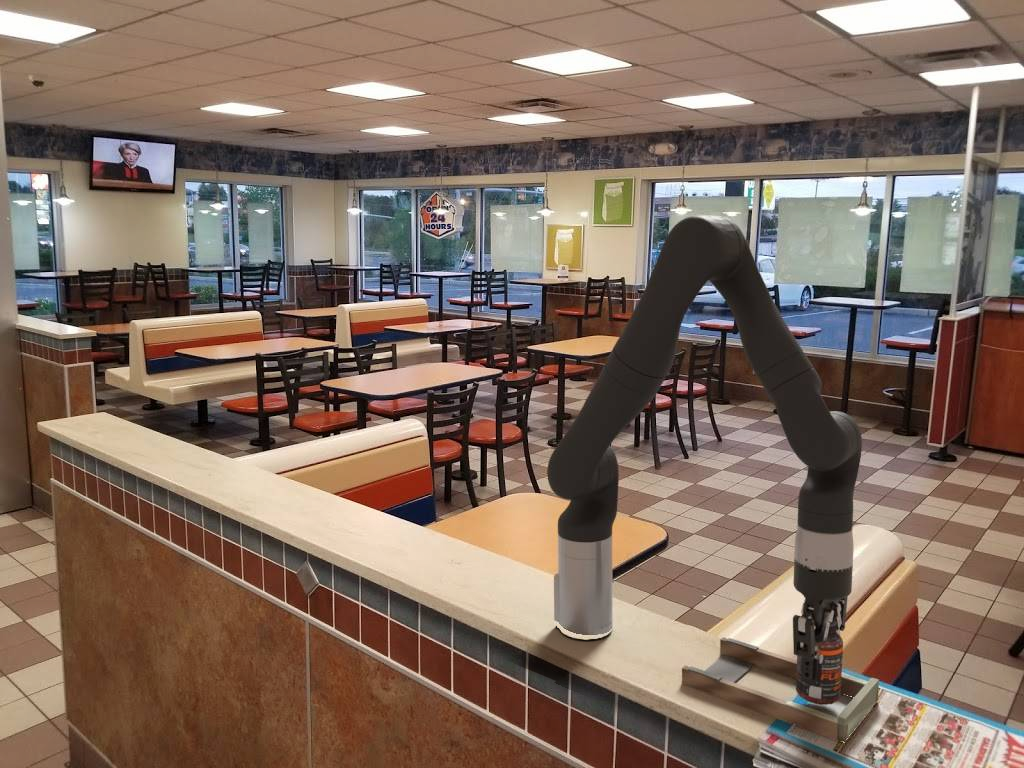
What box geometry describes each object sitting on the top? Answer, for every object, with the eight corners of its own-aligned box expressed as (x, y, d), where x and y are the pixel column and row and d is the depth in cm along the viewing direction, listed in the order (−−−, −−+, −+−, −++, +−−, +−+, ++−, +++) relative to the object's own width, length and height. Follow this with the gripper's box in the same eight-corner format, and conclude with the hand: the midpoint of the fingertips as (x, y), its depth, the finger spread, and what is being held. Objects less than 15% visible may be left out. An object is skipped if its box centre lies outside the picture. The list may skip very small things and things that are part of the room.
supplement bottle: (824, 711, 110) (827, 633, 109) (786, 693, 115) (789, 618, 113) (849, 697, 114) (852, 621, 112) (811, 680, 118) (814, 606, 117)
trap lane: (681, 683, 122) (682, 661, 121) (723, 651, 131) (723, 631, 131) (844, 743, 106) (845, 718, 105) (877, 702, 115) (878, 679, 115)
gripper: (816, 538, 119) (812, 645, 122) (774, 566, 109) (771, 683, 111) (869, 549, 114) (864, 661, 117) (831, 580, 104) (826, 702, 106)
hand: (818, 671), depth 114 cm, fingers closed on supplement bottle, 6 cm apart
